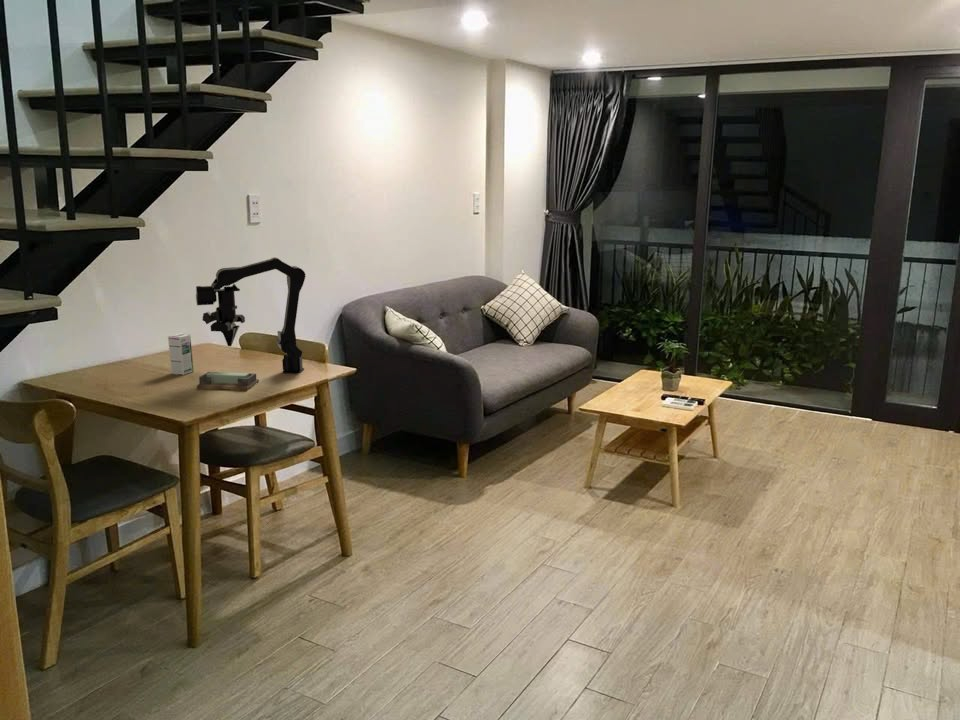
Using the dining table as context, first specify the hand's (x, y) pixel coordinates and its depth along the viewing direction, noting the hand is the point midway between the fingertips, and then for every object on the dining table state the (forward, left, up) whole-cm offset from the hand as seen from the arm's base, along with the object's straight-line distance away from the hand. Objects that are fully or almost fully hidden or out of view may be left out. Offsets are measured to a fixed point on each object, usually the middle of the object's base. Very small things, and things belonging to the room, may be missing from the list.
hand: (229, 346), depth 293 cm
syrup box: (+20, -3, -12) cm, 24 cm away
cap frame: (-4, +12, -12) cm, 17 cm away
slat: (-4, +12, -10) cm, 16 cm away
